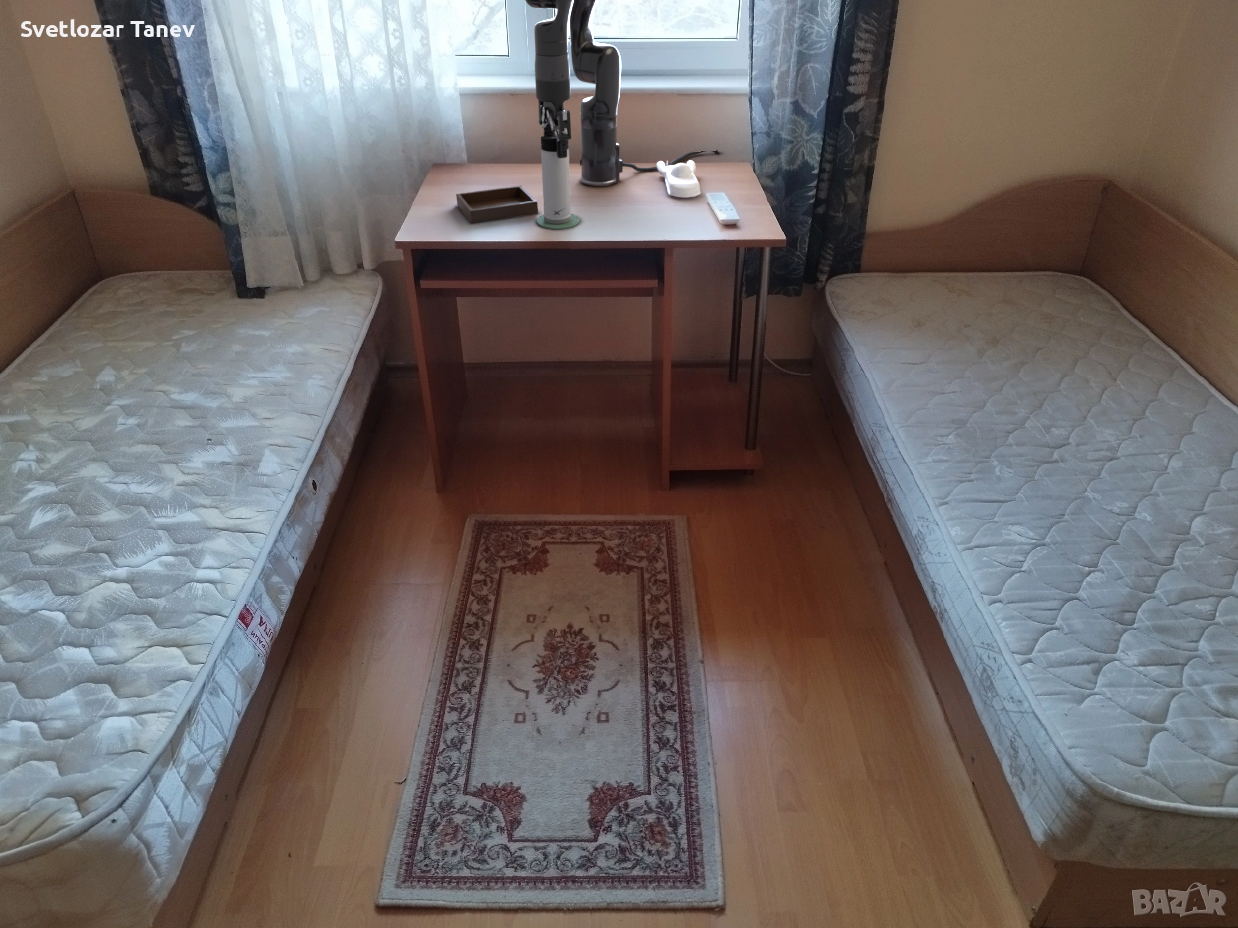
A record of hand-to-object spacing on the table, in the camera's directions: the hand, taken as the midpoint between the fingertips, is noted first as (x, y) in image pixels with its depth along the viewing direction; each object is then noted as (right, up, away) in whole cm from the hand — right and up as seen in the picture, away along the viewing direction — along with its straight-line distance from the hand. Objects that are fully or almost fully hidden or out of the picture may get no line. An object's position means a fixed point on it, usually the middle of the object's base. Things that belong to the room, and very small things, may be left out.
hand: (555, 152), depth 197 cm
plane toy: (+30, +2, +30) cm, 43 cm away
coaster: (0, -13, +10) cm, 16 cm away
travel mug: (0, -13, +9) cm, 16 cm away
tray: (-15, -8, +16) cm, 23 cm away
